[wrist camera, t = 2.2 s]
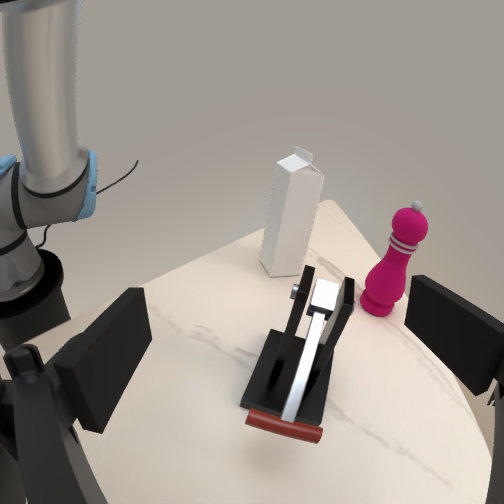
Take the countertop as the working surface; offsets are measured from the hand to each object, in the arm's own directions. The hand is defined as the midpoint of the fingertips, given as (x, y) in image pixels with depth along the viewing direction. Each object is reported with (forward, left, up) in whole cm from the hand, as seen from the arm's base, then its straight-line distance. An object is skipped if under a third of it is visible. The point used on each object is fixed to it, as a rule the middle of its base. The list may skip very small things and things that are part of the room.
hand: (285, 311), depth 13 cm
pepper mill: (-21, +28, -21) cm, 40 cm away
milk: (-33, +13, -21) cm, 41 cm away
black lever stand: (-9, +8, -20) cm, 24 cm away
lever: (-5, +6, -11) cm, 13 cm away
